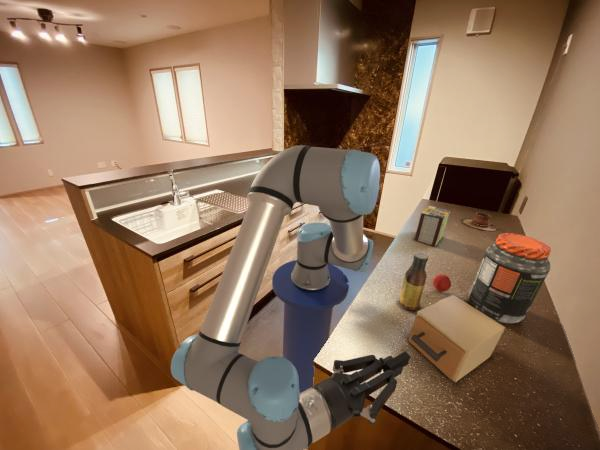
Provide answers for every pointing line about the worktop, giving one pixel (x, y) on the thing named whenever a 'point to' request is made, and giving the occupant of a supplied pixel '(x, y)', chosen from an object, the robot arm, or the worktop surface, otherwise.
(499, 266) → the supplement tub
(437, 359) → the drawer
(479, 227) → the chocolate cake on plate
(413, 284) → the sauce bottle
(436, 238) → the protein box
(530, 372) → the worktop surface
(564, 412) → the worktop surface
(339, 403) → the robot arm
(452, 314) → the cabinet
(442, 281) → the onion
